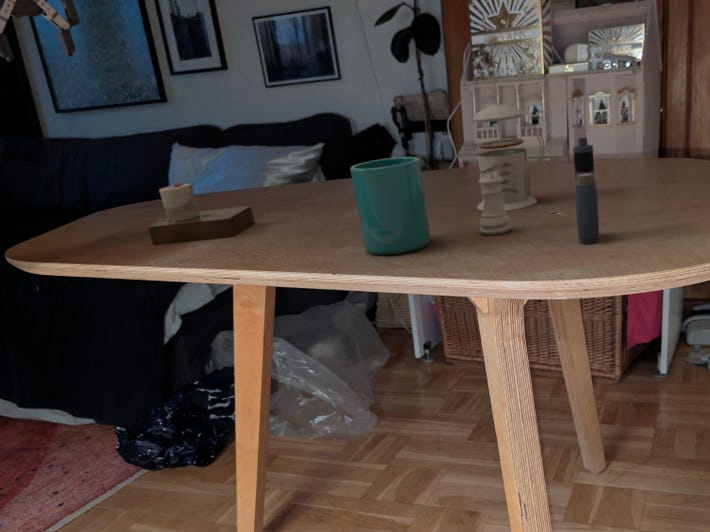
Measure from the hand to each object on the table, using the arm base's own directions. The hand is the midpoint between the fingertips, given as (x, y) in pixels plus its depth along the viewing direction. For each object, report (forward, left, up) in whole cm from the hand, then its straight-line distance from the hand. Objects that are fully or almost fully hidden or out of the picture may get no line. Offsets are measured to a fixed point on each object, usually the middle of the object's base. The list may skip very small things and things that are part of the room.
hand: (41, 58), depth 112 cm
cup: (+58, -24, -30) cm, 70 cm away
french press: (+73, -4, -30) cm, 79 cm away
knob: (+17, -2, -27) cm, 32 cm away
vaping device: (+83, -31, -30) cm, 94 cm away
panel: (+20, -2, -30) cm, 36 cm away
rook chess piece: (+71, -22, -30) cm, 80 cm away
